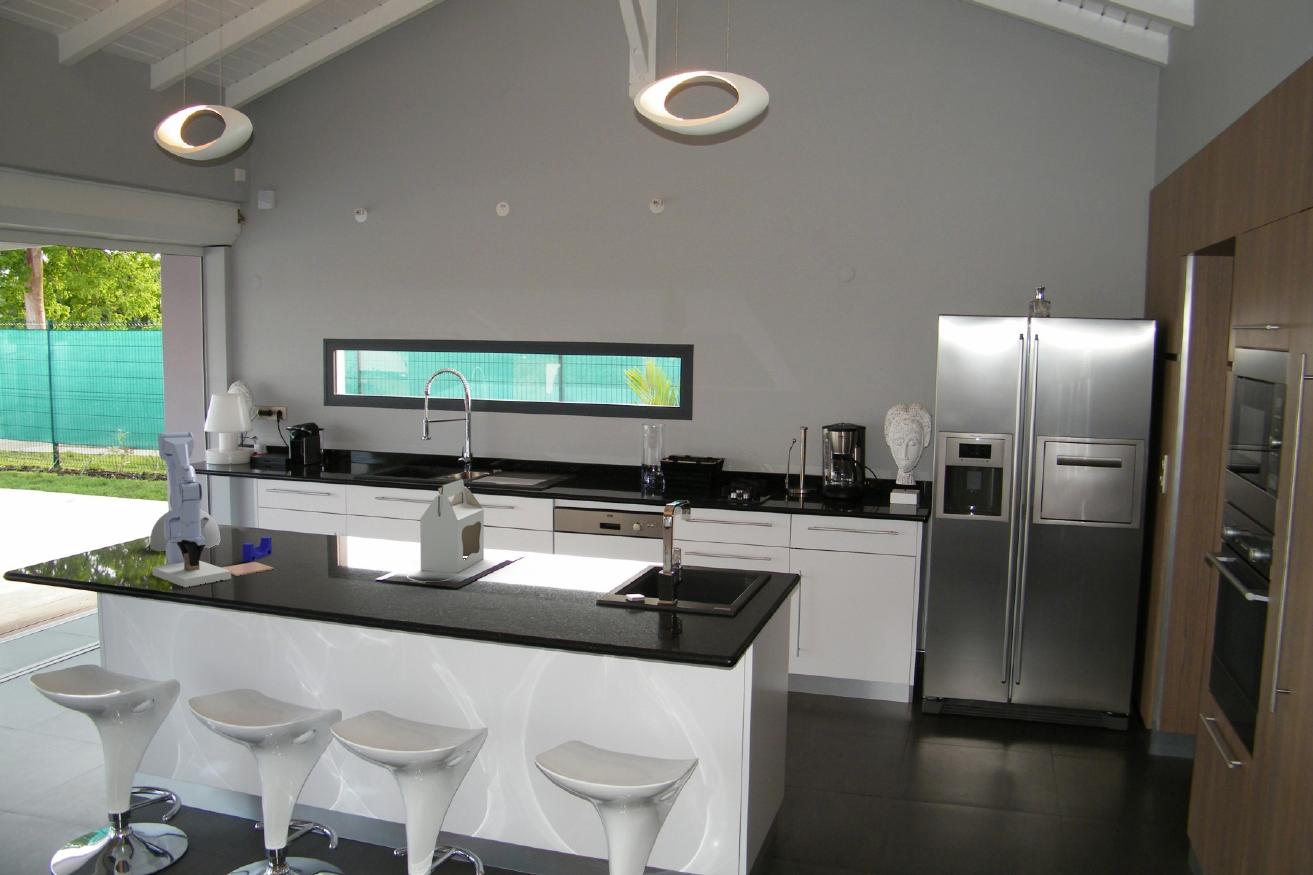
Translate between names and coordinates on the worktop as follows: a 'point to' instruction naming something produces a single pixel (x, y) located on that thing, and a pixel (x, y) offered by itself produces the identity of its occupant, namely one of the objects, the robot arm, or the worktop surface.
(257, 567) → the terracotta tile
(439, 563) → the gable box
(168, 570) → the board
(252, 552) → the cable clip
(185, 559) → the walnut peg
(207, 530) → the kettle
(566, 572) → the worktop surface
